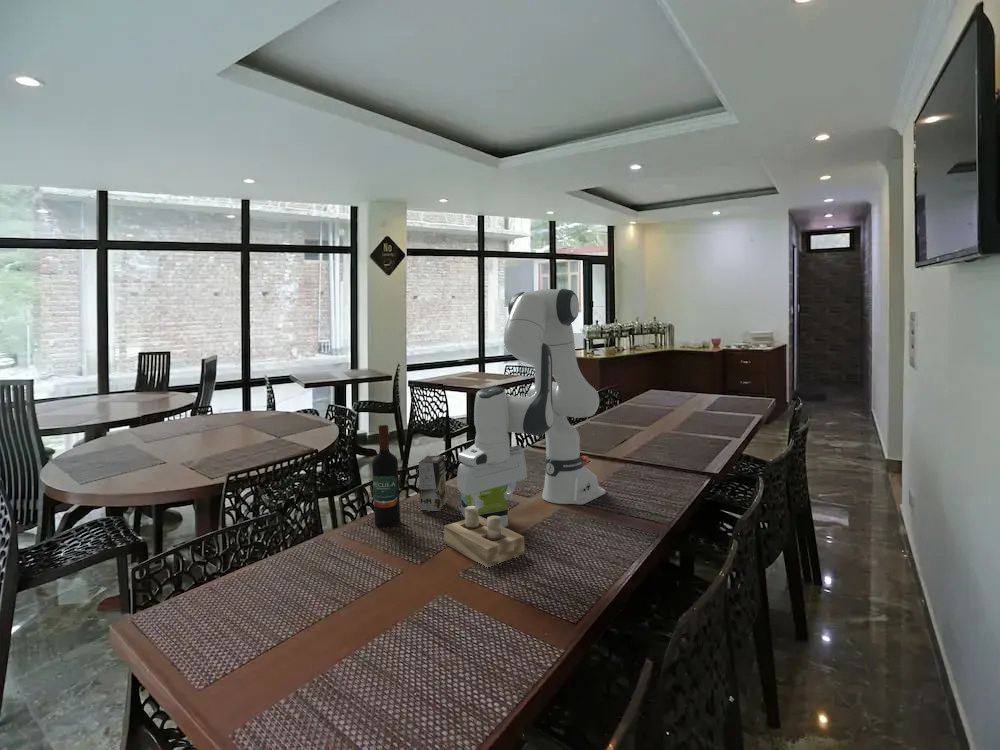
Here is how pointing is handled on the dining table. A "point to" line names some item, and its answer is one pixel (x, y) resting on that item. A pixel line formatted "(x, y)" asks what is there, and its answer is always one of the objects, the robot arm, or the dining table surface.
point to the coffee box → (432, 483)
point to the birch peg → (494, 528)
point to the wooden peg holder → (482, 540)
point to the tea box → (489, 503)
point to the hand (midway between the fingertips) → (494, 503)
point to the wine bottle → (385, 484)
